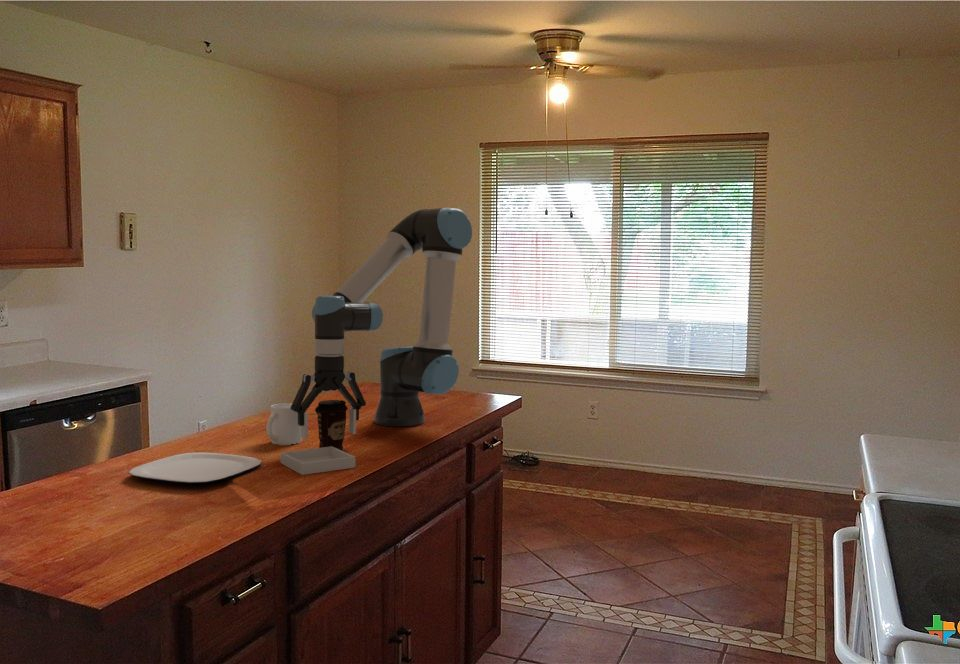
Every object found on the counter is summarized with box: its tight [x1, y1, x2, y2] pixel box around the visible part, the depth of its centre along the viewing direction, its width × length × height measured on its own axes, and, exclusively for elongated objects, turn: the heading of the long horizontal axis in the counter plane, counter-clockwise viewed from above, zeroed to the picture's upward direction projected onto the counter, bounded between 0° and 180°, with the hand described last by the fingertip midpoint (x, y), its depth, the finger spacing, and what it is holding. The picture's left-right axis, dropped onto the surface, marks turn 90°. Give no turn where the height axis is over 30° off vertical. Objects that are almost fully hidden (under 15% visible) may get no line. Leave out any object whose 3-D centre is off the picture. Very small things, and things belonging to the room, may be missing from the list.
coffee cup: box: [314, 399, 349, 451], centre depth 216 cm, size 9×8×13 cm
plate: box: [128, 451, 263, 484], centre depth 194 cm, size 25×25×2 cm
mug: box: [266, 402, 303, 446], centre depth 223 cm, size 12×8×10 cm
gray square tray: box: [280, 446, 356, 476], centre depth 201 cm, size 14×14×3 cm
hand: (328, 435), depth 216 cm, fingers open, 13 cm apart
